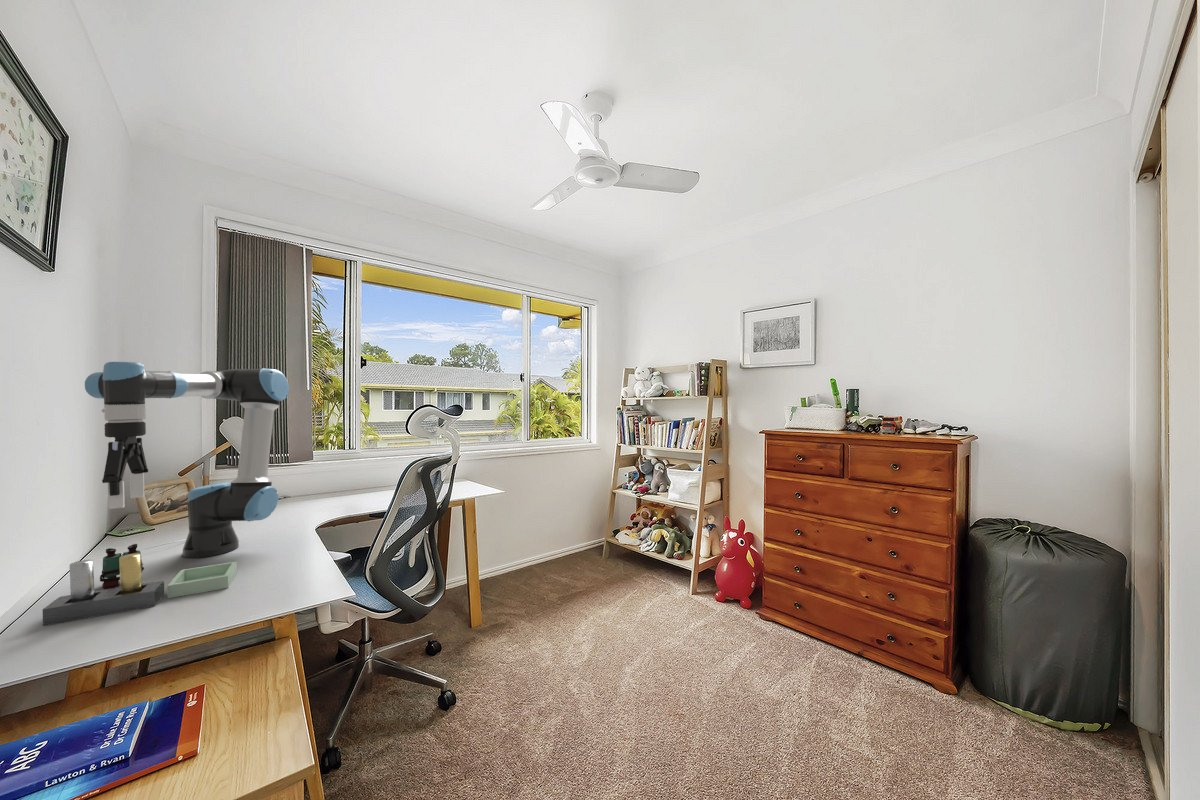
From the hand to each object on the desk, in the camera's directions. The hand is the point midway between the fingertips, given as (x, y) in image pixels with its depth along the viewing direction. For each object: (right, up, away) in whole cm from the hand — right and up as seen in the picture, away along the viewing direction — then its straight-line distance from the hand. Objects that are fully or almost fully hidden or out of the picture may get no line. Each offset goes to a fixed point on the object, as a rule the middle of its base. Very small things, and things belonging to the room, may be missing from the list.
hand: (127, 502), depth 122 cm
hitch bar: (-3, -27, -2) cm, 27 cm away
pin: (-7, -27, -4) cm, 28 cm away
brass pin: (+1, -27, +1) cm, 27 cm away
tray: (+9, -27, +13) cm, 31 cm away
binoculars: (-16, -27, +14) cm, 35 cm away
